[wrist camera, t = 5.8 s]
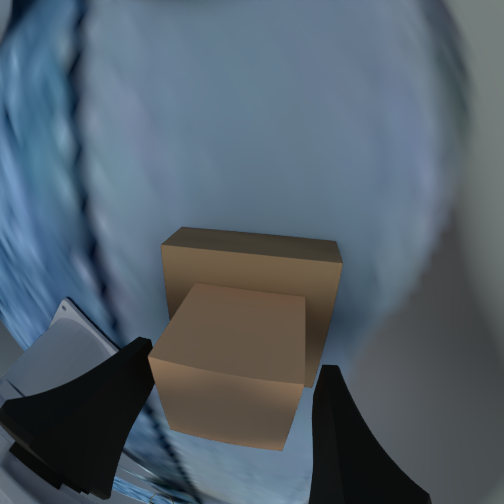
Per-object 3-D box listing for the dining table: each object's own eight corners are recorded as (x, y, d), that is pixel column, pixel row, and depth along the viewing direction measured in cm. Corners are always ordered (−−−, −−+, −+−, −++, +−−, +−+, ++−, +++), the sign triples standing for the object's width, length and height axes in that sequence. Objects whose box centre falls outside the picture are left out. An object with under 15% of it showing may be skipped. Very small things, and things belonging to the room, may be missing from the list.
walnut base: (312, 353, 17) (312, 387, 14) (193, 337, 18) (178, 367, 15) (334, 238, 14) (342, 263, 11) (184, 224, 15) (160, 244, 12)
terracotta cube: (290, 372, 14) (282, 450, 10) (201, 358, 15) (170, 429, 10) (305, 296, 12) (304, 384, 8) (195, 282, 13) (147, 356, 8)
